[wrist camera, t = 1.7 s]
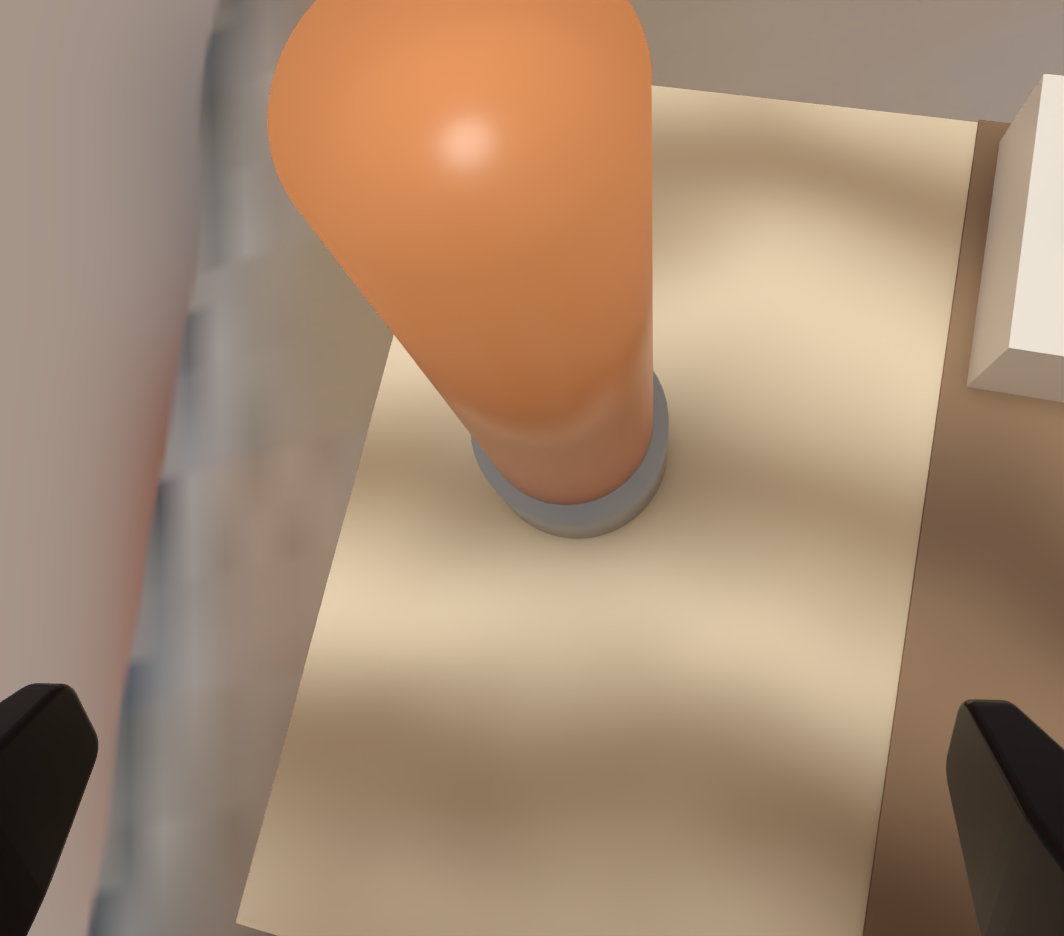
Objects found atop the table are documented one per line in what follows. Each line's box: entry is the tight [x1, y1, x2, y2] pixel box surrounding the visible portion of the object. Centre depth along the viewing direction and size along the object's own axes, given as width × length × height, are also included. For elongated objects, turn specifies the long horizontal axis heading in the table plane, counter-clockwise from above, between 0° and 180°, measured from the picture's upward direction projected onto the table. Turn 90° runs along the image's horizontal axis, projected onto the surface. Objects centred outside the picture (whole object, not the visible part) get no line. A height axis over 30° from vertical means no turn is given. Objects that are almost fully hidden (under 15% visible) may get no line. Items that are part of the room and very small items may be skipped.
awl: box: [267, 0, 669, 539], centre depth 14 cm, size 4×4×13 cm
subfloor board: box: [236, 86, 1064, 936], centre depth 20 cm, size 21×24×2 cm
